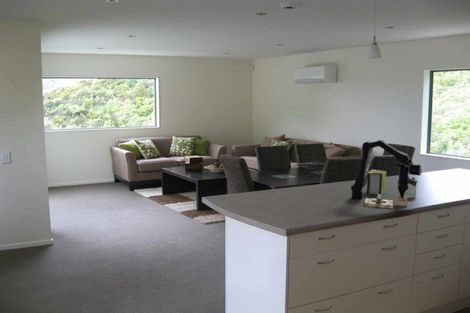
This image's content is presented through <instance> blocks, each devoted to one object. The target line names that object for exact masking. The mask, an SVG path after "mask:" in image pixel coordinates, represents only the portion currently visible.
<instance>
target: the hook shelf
mask: <svg viewBox="0 0 470 313" xmlns="http://www.w3.org/2000/svg"><path fill="white" fill-rule="evenodd" d="M393 206H394V200H391V199H383V198H382V195H381V194H378V195H377V196H376V198H368V197H366V198H365V201H364V207H370V208H371V207H375V208H383V209H384V208H386V209H393V208H394V207H393Z"/></svg>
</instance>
